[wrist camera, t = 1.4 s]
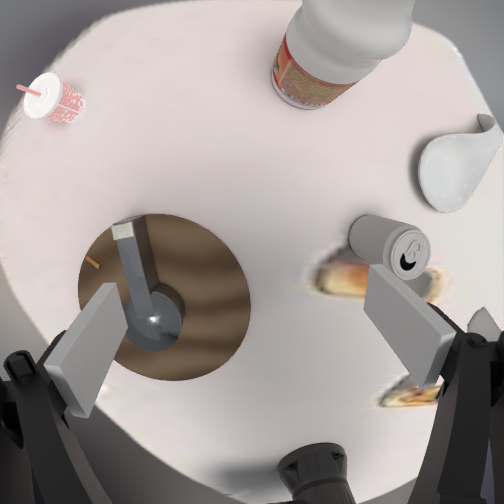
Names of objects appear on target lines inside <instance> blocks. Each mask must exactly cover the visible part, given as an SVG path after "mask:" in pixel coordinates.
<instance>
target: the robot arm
mask: <svg viewBox="0 0 504 504" xmlns="http://www.w3.org/2000/svg"><path fill="white" fill-rule="evenodd" d="M364 311H365V313H366V314H367V315H368V317H369V318H370V319H371V321H372V322H373V323H374V325H375V326H376V327H377V329H378V330H379V331H380V333H381V334H382V335H383V337H384V338H385V340H386V341H387V342H388V344H389V345H390V346H391V348H392V349H393V351H394V352H395V353H396V355H397V356H398V358H399V359H400V360H401V362H402V363H403V365H404V366H405V367H406V369H407V370H408V372H409V373H410V375H411V376H412V378H413V379H414V380H415V382H416V383H417V385H418V386H419V388H420V389H421V390H423V389H426V388H428V387H431V386H434V385H435V384H436V382H437V380H438V378H439V375H441V376H442V377H443V379H444V382H443V384H442V386H441V388H440V390H439V392H438V394H437V396H436V399H438V397H439V401H438V406H437V411H436V415H435V420H434V424H433V428H432V432H431V436H430V439H429V443H428V446H427V450H426V453H425V456H424V460H423V463H422V466H421V469H420V472H419V474H418V477H417V480H416V483H415V485H414V488H413V491H412V493H411V496H410V498H409V501H408V503H407V504H487V502H486V500H485V499H483V498H481V497H480V492H481V487H482V482H483V476H484V470H485V464H486V457H487V449H488V440H490V446H491V455H492V464H493V475H494V493H495V504H504V331H503V332H501V333H500V336H499V338H498V341H490V342H488V341H487V340H486V339H485V337H483V336H482V335H480V334H477V333H473V332H469V333H465V332H464V331H463V330H462V329H461V328H459V327H458V326H457V325H456V324H455V323H454V322H453V321H452V320H451V319H449V317H448V316H447V315H446V314H444V313H443V312H442V311H441V310H440V309H439V308H438V307H436V306H434V305H433V304H431V303H426V302H425V301H424V300H422V299H421V298H420V297H419V296H418V295H417V294H416V293H415V292H414V291H413V290H411V289H410V288H409V287H408V286H407V285H406V284H405V283H404V282H402V281H401V280H400V279H399V278H398V277H397V276H396V275H394V274H393V273H392V272H391V271H390V270H389V269H387V268H386V267H385V266H384V265H383V264H374V265H369V274H368V282H367V290H366V297H365V304H364ZM127 329H128V325H127V322H126V318H125V315H124V311H123V307H122V304H121V300H120V296H119V292H118V288H117V284H116V283H103V284H102V285H101V287H100V288H99V289H98V290H97V292H96V293H95V294H94V295H93V297H92V298H91V299H90V301H89V302H88V303H87V304H86V306H85V307H84V308H83V310H82V311H81V312H80V314H79V315H78V316H77V318H76V319H75V320H74V322H73V323H72V324H71V326H70V327H69V328H68V330H64V331H62V332H61V333H60V334H59V335H57V336H56V337H55V339H54V340H53V341H52V343H51V345H49V347H48V348H47V350H46V351H45V352H44V354H43V355H42V357H41V358H40V360H39V361H38V362H37V364H35V362H34V360H33V358H32V356H31V354H30V353H29V352H28V351H26V350H20V351H16V352H14V353H12V354H11V355H9V356H8V357H7V358H6V360H5V361H4V365H3V366H4V368H5V370H6V372H7V373H8V375H9V377H10V378H11V381H3V380H2V379H1V377H0V504H35V502H34V495H33V487H32V477H31V465H32V468H33V472H34V474H35V477H36V480H37V483H38V486H39V488H40V491H41V494H42V496H43V499H44V501H45V503H46V504H112V503H111V501H110V500H109V498H108V496H107V495H106V493H105V492H104V490H103V488H102V487H101V485H100V483H99V482H98V480H97V478H96V477H95V475H94V473H93V471H92V469H91V467H90V465H89V463H88V462H87V460H86V458H85V456H84V454H83V452H82V450H81V448H80V446H79V444H78V441H77V439H76V437H75V435H74V433H73V430H72V428H71V426H70V423H69V421H68V419H67V417H66V416H65V414H64V411H65V409H66V407H68V409H69V410H70V412H71V413H72V415H74V416H78V417H84V418H88V417H89V415H90V412H91V410H92V408H93V405H94V403H95V400H96V398H97V395H98V393H99V391H100V388H101V386H102V384H103V381H104V379H105V377H106V374H107V372H108V370H109V368H110V365H111V363H112V361H113V359H114V356H115V354H116V352H117V350H118V348H119V346H120V343H121V341H122V339H123V337H124V335H125V333H126V331H127ZM30 462H31V463H30ZM278 470H279V475H280V478H281V480H282V481H283V483H284V484H285V486H286V487H287V489H288V490H289V491H290V493H291V494H292V498H293V501H287V502H278V503H268V504H356V503H355V500H354V497H353V495H352V492H351V490H350V487H349V485H348V482H347V479H346V477H347V457H346V454H345V452H344V449H343V448H342V447H341V446H339V445H336V444H332V443H320V444H313V445H309V446H306V447H303V448H300V449H298V450H295V451H293V452H292V453H290V454H288V455H287V456H286V457H285V458H284V459H283V460H282V461H281V462H280V464H279V467H278Z"/></svg>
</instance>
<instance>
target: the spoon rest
mask: <svg viewBox="0 0 504 504" xmlns="http://www.w3.org/2000/svg"><path fill="white" fill-rule="evenodd" d="M478 119H479V122H480V124H481V126H482V128H483V130H484V132H483V133H454V134H446V135H442V136H439V137H436V138H434V139H433V140H431V141H430V142H429V143H428V144H427V145H426V146H425V148H424V149H423V151H422V153H421V156H420V159H419V164H418V179H419V184H420V187H421V189H422V192H423V194H424V196H425V198H426V200H427V201H428V202H429V204H430V205H431V206H432V207H433V208H435V209H436V210H437V211H440V212H443V213H451V212H454V211H456V210H458V209H460V208H461V207H463V206H464V205H465V204H466V203H467V201H468V200H469V199H470V198H471V196H472V195H473V193H474V192H475V190H476V188H477V187H478V185H479V183H480V181H481V180H482V178H483V176H484V174H485V172H486V170H487V169H488V167H489V165H490V163H491V161H492V160H493V158H494V156H495V154H496V153H497V151H498V149H499V148H500V146H501V144H502V141H503V136H502V134H501V132H500V130H499V128H498V125H497V122H496V120H495V119H494V118H493V117H491V116H489V115H486V114H479V115H478Z"/></svg>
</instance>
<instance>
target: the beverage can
mask: <svg viewBox="0 0 504 504" xmlns="http://www.w3.org/2000/svg"><path fill="white" fill-rule="evenodd" d="M349 241H350V246H351V248H352V250H353V252H354V253H355V254H356V255H357V256H359V257H360V258H362V259H364V260H365V261H367V262H369V263H370V264H372V265H374V264H383V265H384V266H385V267H386V268H387V269H389V270H390V271H391V272H392V273H393V274H394V275H396V276H397V277H398V278H399V279H400V280H410V279H414V278H416V277H418V276H419V275H420V274H421V273H422V272H423V271H424V270H425V268H426V267H427V265H428V262H429V259H430V253H431V249H430V243H429V240H428V238H427V237H426V235H425V234H424V233H423V232H422V231H421V230H420V229H419V228H417V227H416V226H413V225H410V224H406V223H403V222H399V221H395V220H392V219H388V218H384V217H380V216H376V215H365V216H362V217H361V218H359V219H358V220H357V221H356V222H355V223H354V224H353V226H352V228H351V231H350V236H349Z"/></svg>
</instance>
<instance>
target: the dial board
mask: <svg viewBox="0 0 504 504" xmlns="http://www.w3.org/2000/svg"><path fill="white" fill-rule="evenodd" d="M140 216H142V215H140ZM136 217H137V216H136ZM144 217H145V222H146V227H147V232H148V237H149V241H150V246H151V250H152V255H153V259H154V263H155V267H156V272H157V276H158V280H159V282H161V283H164V284H167V285H169V286H171V287H172V288H173V289H175V290H176V291H177V292H178V293H179V295H180V296H181V298H182V299H183V301H184V304H185V318H184V321H183V324H182V328H181V331H180V334H179V337H178V339H177V341H176V342H175V343H174V344H173V345H172V346H171V347H170V348H168V349H166V350H163V351H147V350H144V349H141V348H139V347H137V346H136V345H134V344H133V343H132V342H131V341H130V340H129V339H128V338H127V337H126V336H125V335H124V337H123V339H122V341H121V343H120V346H119V348H118V350H117V352H116V354H115V356H114V360H115V361H116V362H118V363H119V364H121V365H122V366H124V367H125V368H127V369H129V370H131V371H133V372H135V373H137V374H140V375H143V376H146V377H149V378H153V379H158V380H166V381H182V380H189V379H194V378H197V377H201V376H203V375H206V374H208V373H210V372H212V371H214V370H216V369H217V368H219V367H220V366H222V365H223V364H224V363H226V362H227V361H228V360H229V359H230V358H231V357H232V356H233V355H234V353H235V352H236V351H237V349H238V348H239V347H240V345H241V343H242V341H243V339H244V337H245V335H246V332H247V329H248V325H249V320H250V308H251V304H250V294H249V289H248V285H247V281H246V278H245V276H244V273H243V271H242V268H241V267H240V265H239V263H238V261H237V259H236V258H235V256H234V255H233V254H232V252H231V251H230V250H229V248H228V247H227V246H226V245H225V244H224V243H223V242H222V241H221V240H220V239H219V238H217V237H216V236H215V235H214V234H212V233H211V232H210V231H208V230H207V229H205V228H203V227H202V226H200V225H198V224H196V223H194V222H192V221H189V220H187V219H184V218H180V217H177V216H172V215H165V214H147V215H144ZM103 283H116V284H117V288H118V292H119V296H120V300H121V304H122V307H123V306H124V304H125V303H126V302H127V300H128V299H129V298H130V297H131V295H130V292H129V288H128V285H127V281H126V277H125V274H124V270H123V266H122V262H121V258H120V254H119V250H118V245H117V241H116V240H114V238H113V233H112V229H111V227H110V228H109V229H107V230H106V231H105V232H104V233H102V234H101V235H100V236H99V237H98V238H97V239H96V241H95V242H94V243H93V244H92V246H91V247H90V249H89V250H88V252H87V254H86V256H85V258H84V260H83V263H82V265H81V270H80V274H79V281H78V298H79V304H80V309H81V311H82V310H83V308H84V307H85V306H86V304H87V303H88V302H89V301H90V299H91V298H92V297H93V295H94V294H95V293H96V292H97V290H98V289H99V288H100V287H101V285H102V284H103Z"/></svg>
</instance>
